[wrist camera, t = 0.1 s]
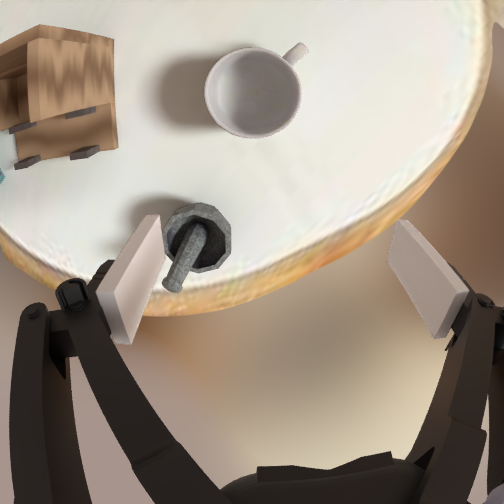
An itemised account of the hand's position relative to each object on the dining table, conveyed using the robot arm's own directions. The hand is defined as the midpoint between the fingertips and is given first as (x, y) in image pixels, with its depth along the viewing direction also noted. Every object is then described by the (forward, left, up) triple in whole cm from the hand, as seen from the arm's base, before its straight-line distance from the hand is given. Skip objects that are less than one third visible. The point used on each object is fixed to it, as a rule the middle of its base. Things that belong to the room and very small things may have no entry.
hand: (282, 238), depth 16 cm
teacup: (-8, 0, -28) cm, 29 cm away
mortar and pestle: (+13, -9, -28) cm, 32 cm away
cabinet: (-9, -31, -28) cm, 43 cm away
